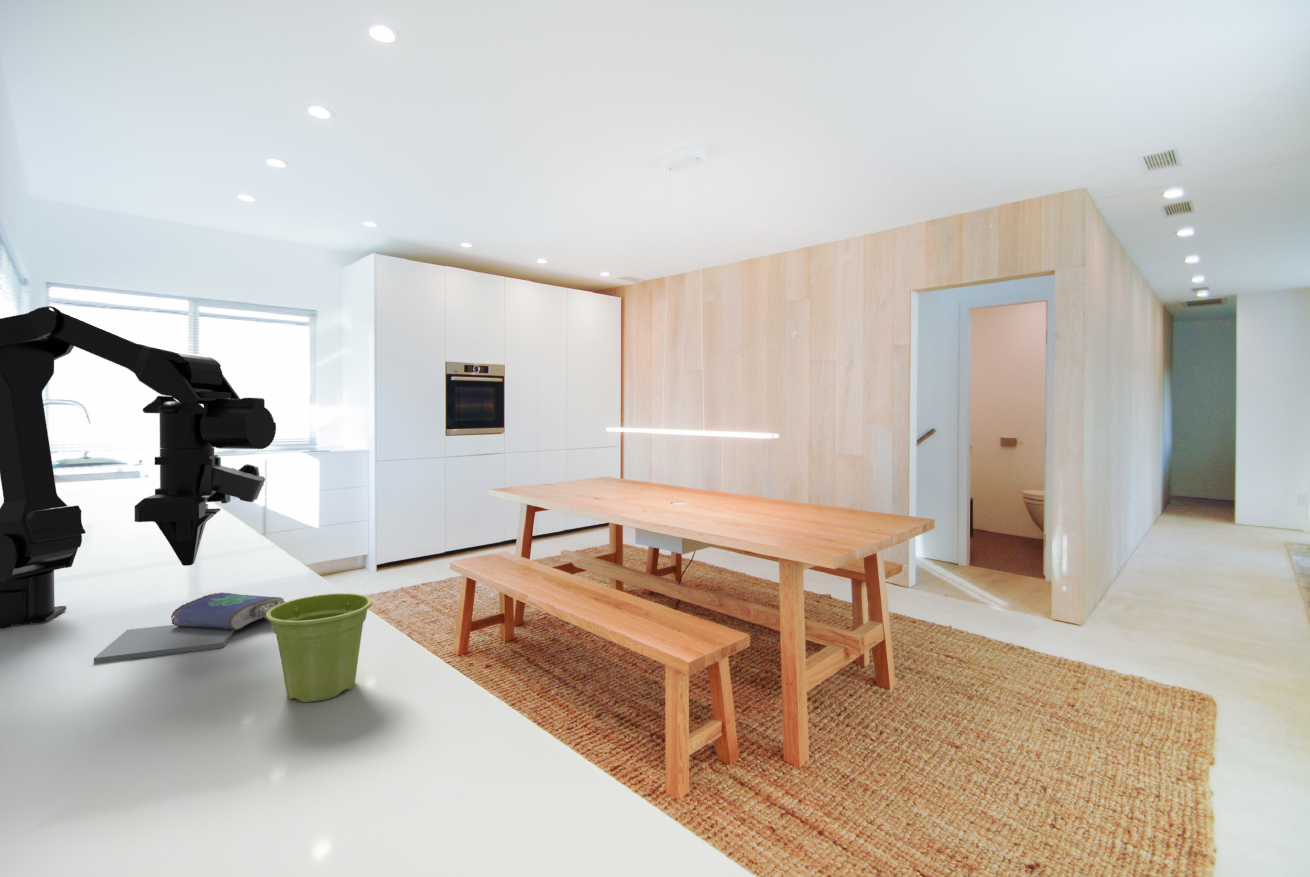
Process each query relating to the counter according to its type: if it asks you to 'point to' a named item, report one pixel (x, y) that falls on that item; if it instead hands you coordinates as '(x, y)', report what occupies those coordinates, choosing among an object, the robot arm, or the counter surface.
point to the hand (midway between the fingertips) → (188, 564)
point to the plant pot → (319, 643)
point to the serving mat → (163, 642)
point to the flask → (224, 610)
